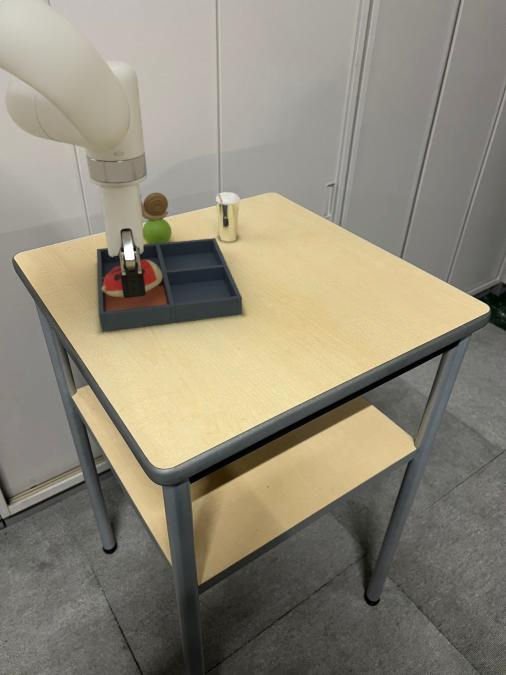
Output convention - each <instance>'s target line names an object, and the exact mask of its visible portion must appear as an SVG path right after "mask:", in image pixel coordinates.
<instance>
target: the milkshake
mask: <svg viewBox="0 0 506 675" xmlns="http://www.w3.org/2000/svg"><path fill="white" fill-rule="evenodd" d="M240 202H241V198H240V196H239V195H238V194H237V193H235V192H232V191H230V192H229V191H223V192H220V193H218V194H217V195H216V197H215V204H216V205H215V206H216V212H217V221H218V232H219V238H220V240H221V241H222V242H228V243H229V242H234V241H235V240H237V237H238V236H237V233H238V221H239V210H240Z"/></svg>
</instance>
